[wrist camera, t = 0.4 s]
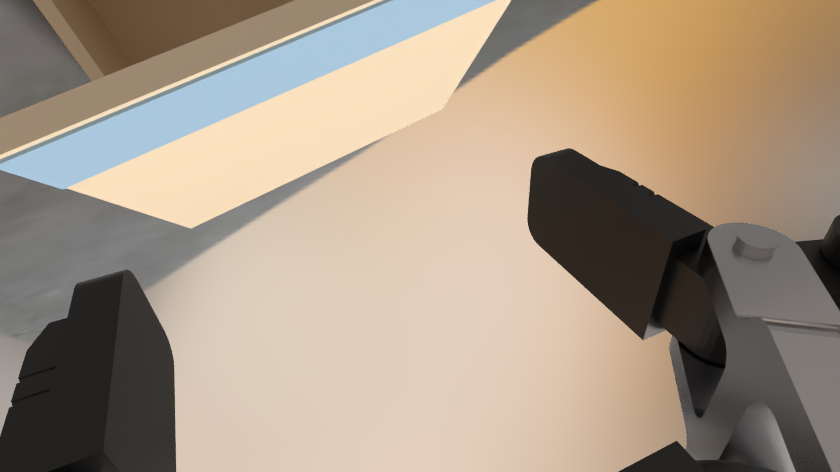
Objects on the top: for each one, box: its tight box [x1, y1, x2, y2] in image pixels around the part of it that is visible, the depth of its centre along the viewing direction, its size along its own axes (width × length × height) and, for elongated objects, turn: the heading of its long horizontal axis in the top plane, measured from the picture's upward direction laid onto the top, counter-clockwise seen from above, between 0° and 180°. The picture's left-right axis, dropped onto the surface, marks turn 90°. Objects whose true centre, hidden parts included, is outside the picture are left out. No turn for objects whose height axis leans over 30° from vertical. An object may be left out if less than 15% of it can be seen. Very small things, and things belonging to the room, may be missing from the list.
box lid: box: [0, 0, 511, 228], centre depth 21 cm, size 16×16×1 cm
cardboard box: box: [33, 0, 295, 81], centre depth 28 cm, size 16×16×10 cm
